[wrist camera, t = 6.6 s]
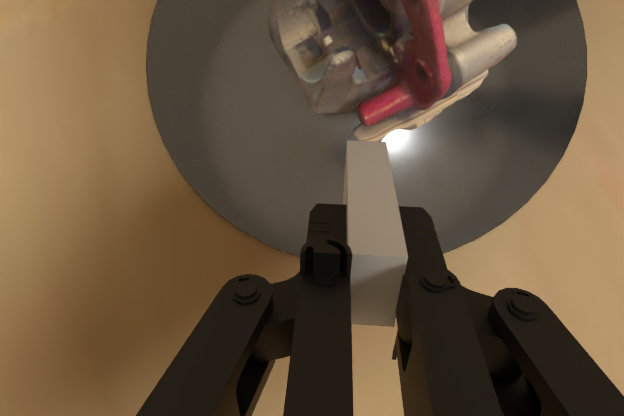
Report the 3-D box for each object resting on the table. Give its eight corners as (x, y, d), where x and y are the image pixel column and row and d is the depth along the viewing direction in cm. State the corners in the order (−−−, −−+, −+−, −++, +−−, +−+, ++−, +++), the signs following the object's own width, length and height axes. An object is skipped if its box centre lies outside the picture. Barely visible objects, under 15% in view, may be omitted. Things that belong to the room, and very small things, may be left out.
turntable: (570, -137, 23) (572, -141, 23) (601, 276, 19) (604, 276, 19) (170, -135, 24) (169, -139, 24) (123, 256, 21) (121, 255, 20)
